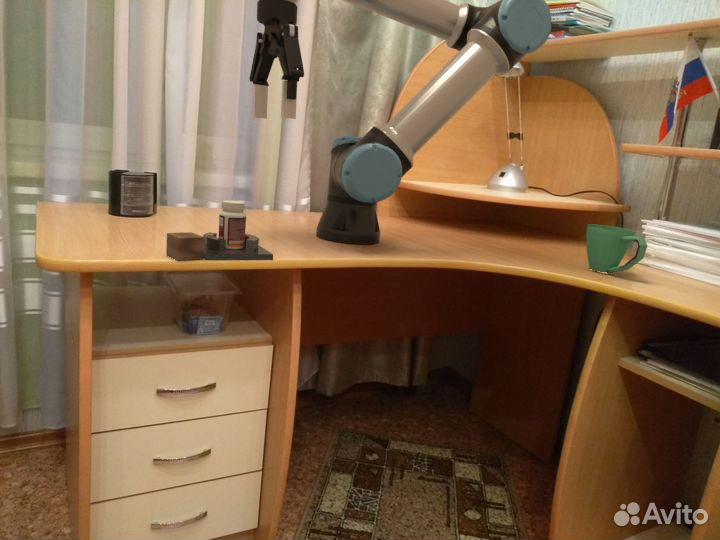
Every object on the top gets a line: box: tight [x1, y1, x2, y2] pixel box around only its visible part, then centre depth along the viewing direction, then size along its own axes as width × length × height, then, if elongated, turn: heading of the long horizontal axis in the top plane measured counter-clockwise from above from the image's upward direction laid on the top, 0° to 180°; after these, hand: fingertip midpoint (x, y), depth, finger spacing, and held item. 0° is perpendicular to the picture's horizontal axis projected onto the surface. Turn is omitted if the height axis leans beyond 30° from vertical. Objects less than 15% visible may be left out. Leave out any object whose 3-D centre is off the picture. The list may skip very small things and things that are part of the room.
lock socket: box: [202, 232, 274, 261], centre depth 100 cm, size 12×12×3 cm
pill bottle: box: [217, 199, 247, 250], centre depth 99 cm, size 5×5×8 cm
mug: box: [585, 223, 648, 274], centre depth 120 cm, size 15×10×10 cm
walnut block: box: [165, 232, 205, 263], centre depth 92 cm, size 4×4×4 cm
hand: (273, 118), depth 107 cm, fingers open, 13 cm apart
